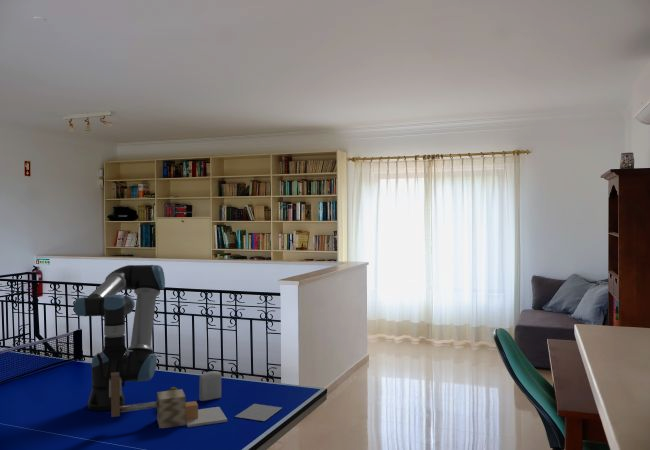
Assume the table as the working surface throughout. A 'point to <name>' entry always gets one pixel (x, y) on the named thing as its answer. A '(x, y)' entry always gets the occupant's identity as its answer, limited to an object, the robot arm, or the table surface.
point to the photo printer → (210, 386)
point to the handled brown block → (116, 399)
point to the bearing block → (171, 408)
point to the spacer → (191, 410)
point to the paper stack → (258, 412)
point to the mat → (207, 417)
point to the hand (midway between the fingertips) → (115, 395)
